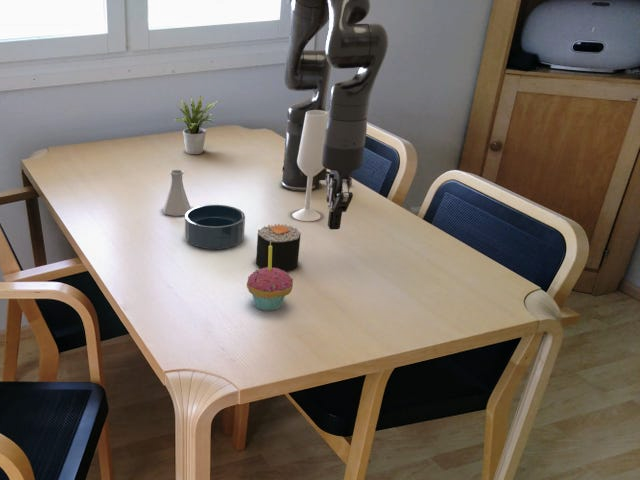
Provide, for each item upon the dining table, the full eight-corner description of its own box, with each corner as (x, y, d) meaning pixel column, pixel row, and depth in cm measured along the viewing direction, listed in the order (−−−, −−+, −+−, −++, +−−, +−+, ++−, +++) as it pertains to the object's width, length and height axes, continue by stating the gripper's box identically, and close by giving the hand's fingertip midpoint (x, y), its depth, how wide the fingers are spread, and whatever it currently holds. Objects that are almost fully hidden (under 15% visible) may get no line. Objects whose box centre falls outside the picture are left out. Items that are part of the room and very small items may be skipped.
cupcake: (242, 295, 131) (244, 237, 124) (285, 292, 131) (290, 235, 125) (250, 317, 124) (254, 257, 117) (296, 314, 124) (302, 254, 117)
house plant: (220, 159, 200) (222, 102, 191) (173, 160, 201) (173, 103, 191) (217, 145, 212) (219, 90, 203) (173, 146, 212) (172, 91, 203)
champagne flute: (323, 212, 164) (335, 110, 151) (316, 222, 159) (328, 117, 146) (296, 209, 167) (305, 108, 153) (288, 218, 162) (297, 115, 148)
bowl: (240, 226, 159) (241, 203, 156) (246, 250, 148) (248, 226, 145) (184, 227, 159) (184, 205, 156) (186, 251, 148) (186, 228, 145)
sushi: (249, 260, 143) (251, 225, 139) (283, 253, 146) (286, 218, 141) (269, 276, 137) (271, 240, 133) (304, 268, 140) (308, 232, 135)
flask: (189, 217, 164) (189, 177, 158) (160, 216, 165) (159, 175, 160) (194, 206, 170) (194, 167, 164) (165, 205, 171) (164, 166, 165)
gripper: (373, 151, 122) (360, 240, 131) (355, 131, 133) (344, 215, 142) (331, 152, 122) (321, 241, 131) (317, 132, 133) (308, 216, 142)
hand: (333, 227), depth 137 cm, fingers closed
